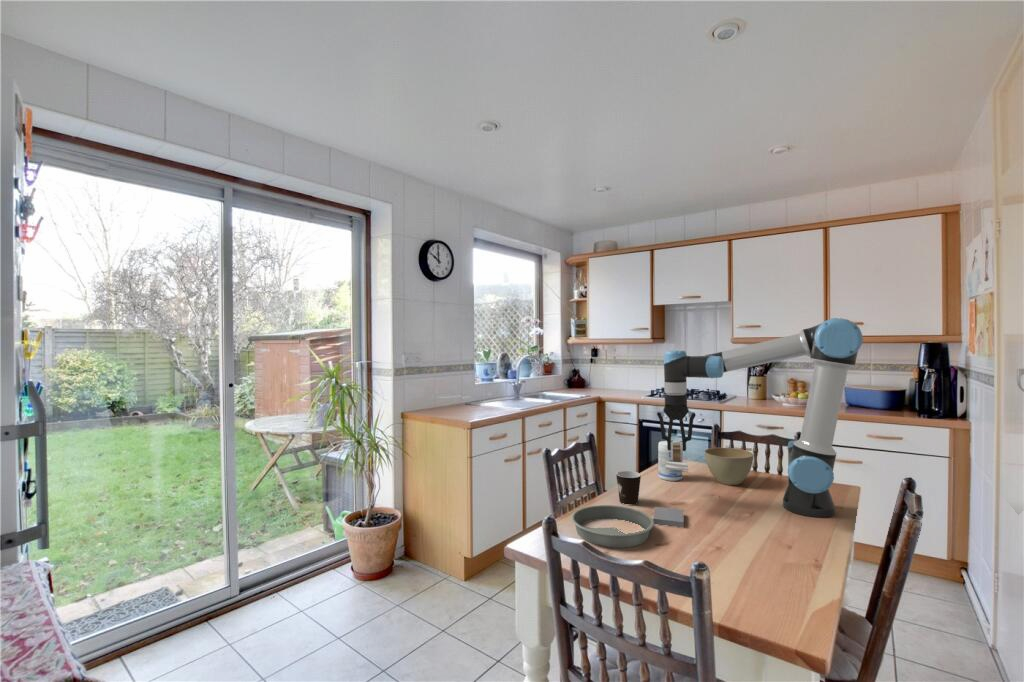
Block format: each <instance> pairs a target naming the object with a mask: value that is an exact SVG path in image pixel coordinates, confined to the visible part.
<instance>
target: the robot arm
mask: <svg viewBox="0 0 1024 682" xmlns="http://www.w3.org/2000/svg"><path fill="white" fill-rule="evenodd" d="M863 337H864V336H863V333H862V331H861V329H860V327H859V325H857V324H856V323H855V322H853V321H852V320H849V319H846V318H842V317H839V318H838V317H834V318H830V319H827V320H825V321H823V322H821V323H819V324H817V325H815V326H812V327H808V328H805V329H801V330H800V332H799V333H796V334H795V333H794V334H792V335H787V336H783V337H779V338H775V339H771V340H767V341H761V342H757V343H752V344H749V345H745V346H741V347H736V348H732V349H728V350H723V351H720V352H719V351H718V352H715V353H710V354H704V355H693V356H691V355H687V352H686V351H685V350H667V351H665V352H664V359H663V373H664V374H663V375H664V377H663V378H664V380H663V381H664V384H663V385H664V387H663V388H664V393H665V395H664V407H663V409H662V410H658V411H657V412H656V416H657V417H658V418H659V424H660V425H659V426H660V433H661V440H663V441H667V449H668V450H671V460H673V441H674V440H672V432H673V424H674V421H678V422H679V427H680V433H681V440H679V442H680V456H681V461H682V462H683V461H684V454H683V453H684V452H686V451H687V442H689V441H692V435H693V427H694V426H693V425H694V421H695V420H694V419H695V418H696V413H695V412H694V411H691V410H689V408H688V395H687V391H688V388H687V387H688V386H687V380H688V379H687V378H701V379H702V378H703V379H706V378H707V379H719V378H723V376H724V373H728V372H732V371H737V370H741V369H746V368H747V369H748V368H751V367H755V366H760V365H765V364H770V363H775V362H779V361H780V362H781V361H784V360H789V359H794V358H799V357H805V356H807V357H809V360H810V361H811V362H812V363H813V365H814V368H813V371H812V377H811V382H810V386H809V390H808V397H807V402H806V405H805V406H806V407H805V410H804V411H805V412H804V417H803V420H802V421H803V422H802V426H801V431H800V437H799V439H798V440H790V441H788V444H787V448H786V449H787V461H788V462H787V475H788V479H787V481H788V482H787V487H786V489H785V492H784V494H783V498H782V507H783V508H784V509H785V510H787V511H789V512H791V513H794V514H798V515H802V516H807V517H812V518H813V517H814V518H828V517H832V516H835V514H836V506H835V503H834V499H833V497H832V495H831V492H830V489H829V488H831V486H832V485H833V483H834V480H835V475H834V467H835V464H836V459H837V451H836V450H835V449H834V448H833V442H834V438H835V432H836V427H837V423H838V418H839V414H840V409H841V404H842V399H843V395H844V390H845V384H846V381H847V380H846V379H847V376H848V371H849V370H850V369H852V368H854V367H855V366H856V361H857V356H858V353H859V350H860V349H861V346H862V345H863V341H864V339H863ZM665 415H666V416H667V417H668V419H669V422H668V431H667V435H666V430H665V423H664V421H665V420H664V416H665ZM687 415H688V418H689V420H688V429H687V436H686V432H685V425H684V419H685V418H686V416H687Z"/></svg>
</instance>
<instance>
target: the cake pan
mask: <svg viewBox="0 0 1024 682" xmlns="http://www.w3.org/2000/svg"><path fill="white" fill-rule="evenodd" d="M570 518H571V521H572V523H573V525H575V530H576V533H577V534H578V536H579V537H580V539H583V540H584V541H586V542H588V543H590V544H592V545H593V544H594V545H597V546H600V547H607V548H629V547H634V546H635V545H636V546H638V545H641V544H643V543H645V542H646V541H647V540H648V539H649V535H650V531H651V530H652V529H653V527H654V526H655V525H654V521H653V518H652V517H651V516H650V515H649V514H648V513H646V512H644V511H641V510H639V509H635V508H633V507H628V506H623V505H613V504H612V505H611V504H598V505H596V504H595V505H590V506H584V507H582V508H579V509H577V510H575V511H574V512H573V513H572V514H571V517H570ZM613 519H617V520H616V521H621V520H625V521H624V522H626V521H629V522H628V523H630V522H632V523H631V524H633V523H635V524H638V525H640V526H641V527H642V528H644V529H645V530H643V531H639V532H635V533H628V534H625V533H623V532H621V531H619V530H618V529H617V528H615V527H590V526H583V524H585V523H588V522H592V521H599V520H600V521H601V520H613ZM614 528H615V529H614ZM620 530H621V529H620ZM618 531H619V532H618ZM647 538H648V539H647Z"/></svg>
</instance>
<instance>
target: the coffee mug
mask: <svg viewBox="0 0 1024 682" xmlns="http://www.w3.org/2000/svg"><path fill="white" fill-rule="evenodd" d="M615 475H616V482H617V491H618V492H617V493H618V501H619V503H620V502H621V503H620V504H622V503H624V504H623V505H625V504H636V503H639V496H640V487H641V478H642V474H641V473H639V472H637V471H633V470H632V471H631V470H620V471H617V472H616V473H615ZM636 505H637V504H636Z"/></svg>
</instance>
